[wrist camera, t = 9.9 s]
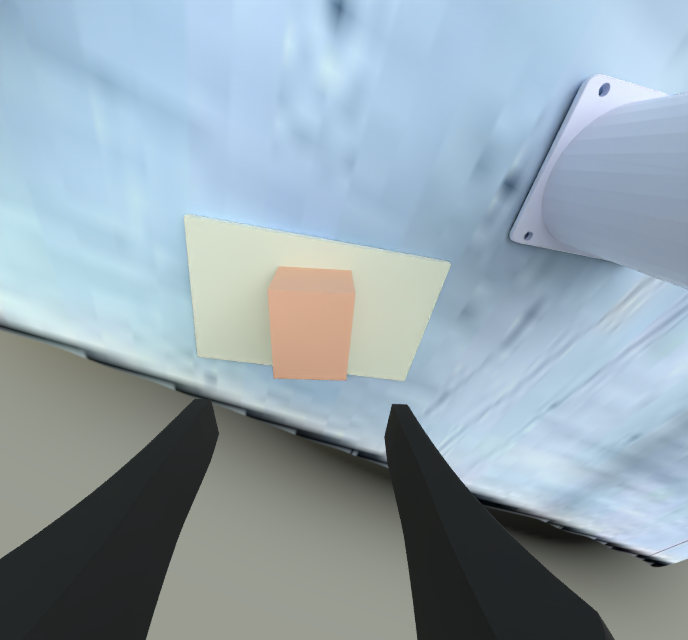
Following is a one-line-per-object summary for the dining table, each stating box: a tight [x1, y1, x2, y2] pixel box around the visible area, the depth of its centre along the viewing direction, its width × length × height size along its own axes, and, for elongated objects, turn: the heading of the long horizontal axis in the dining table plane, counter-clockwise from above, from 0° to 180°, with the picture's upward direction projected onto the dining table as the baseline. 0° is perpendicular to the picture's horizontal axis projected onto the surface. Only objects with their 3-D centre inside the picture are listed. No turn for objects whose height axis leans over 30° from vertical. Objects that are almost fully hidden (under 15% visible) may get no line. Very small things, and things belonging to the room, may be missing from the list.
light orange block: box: [267, 266, 355, 381], centre depth 17 cm, size 6×4×4 cm
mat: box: [184, 214, 451, 381], centre depth 19 cm, size 16×10×1 cm, turn 79°
